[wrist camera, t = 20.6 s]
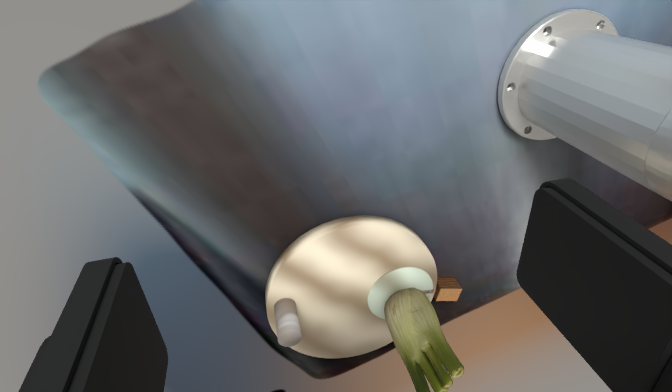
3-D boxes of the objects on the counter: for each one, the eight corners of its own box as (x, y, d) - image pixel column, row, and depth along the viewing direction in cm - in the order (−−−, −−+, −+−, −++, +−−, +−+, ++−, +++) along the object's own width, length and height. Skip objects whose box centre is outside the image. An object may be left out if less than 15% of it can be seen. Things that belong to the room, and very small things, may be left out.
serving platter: (327, 186, 41) (342, 222, 35) (462, 252, 50) (490, 289, 44) (233, 322, 47) (234, 370, 42) (367, 359, 56) (382, 403, 51)
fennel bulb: (386, 321, 50) (426, 415, 40) (369, 298, 47) (408, 392, 37) (428, 298, 49) (479, 387, 39) (414, 273, 47) (464, 362, 36)
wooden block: (459, 242, 49) (467, 253, 48) (453, 289, 53) (460, 299, 52) (323, 269, 47) (326, 281, 45) (327, 315, 51) (331, 328, 49)
